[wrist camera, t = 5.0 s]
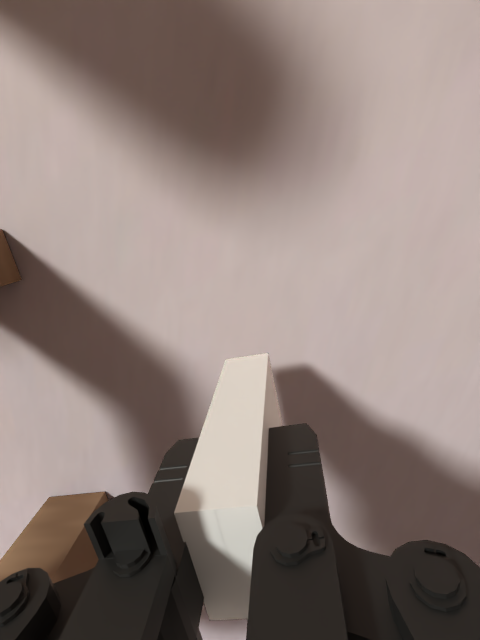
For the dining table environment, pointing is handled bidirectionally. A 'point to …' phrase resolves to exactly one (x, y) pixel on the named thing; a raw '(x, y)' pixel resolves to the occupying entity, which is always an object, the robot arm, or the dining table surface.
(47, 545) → the bridge
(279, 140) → the dining table surface
